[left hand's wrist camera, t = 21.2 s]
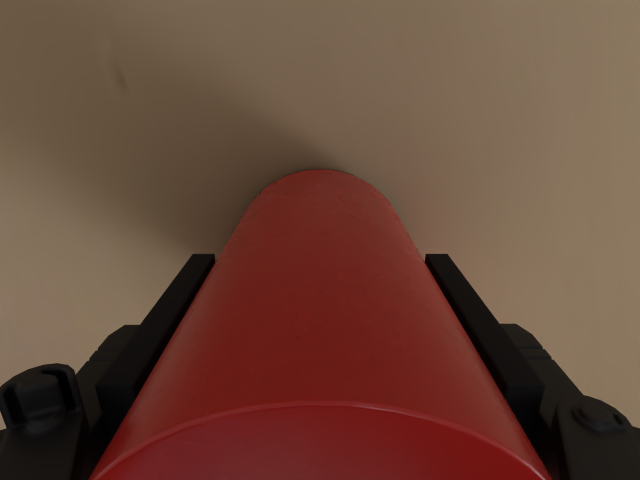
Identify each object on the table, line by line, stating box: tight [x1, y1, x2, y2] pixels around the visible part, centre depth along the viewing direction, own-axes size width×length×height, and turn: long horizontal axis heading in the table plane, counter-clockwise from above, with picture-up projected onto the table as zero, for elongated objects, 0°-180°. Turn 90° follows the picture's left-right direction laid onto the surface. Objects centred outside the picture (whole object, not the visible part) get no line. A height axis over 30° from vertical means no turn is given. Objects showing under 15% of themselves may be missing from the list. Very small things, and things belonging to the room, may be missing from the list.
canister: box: [89, 170, 552, 480], centre depth 12 cm, size 7×7×13 cm
